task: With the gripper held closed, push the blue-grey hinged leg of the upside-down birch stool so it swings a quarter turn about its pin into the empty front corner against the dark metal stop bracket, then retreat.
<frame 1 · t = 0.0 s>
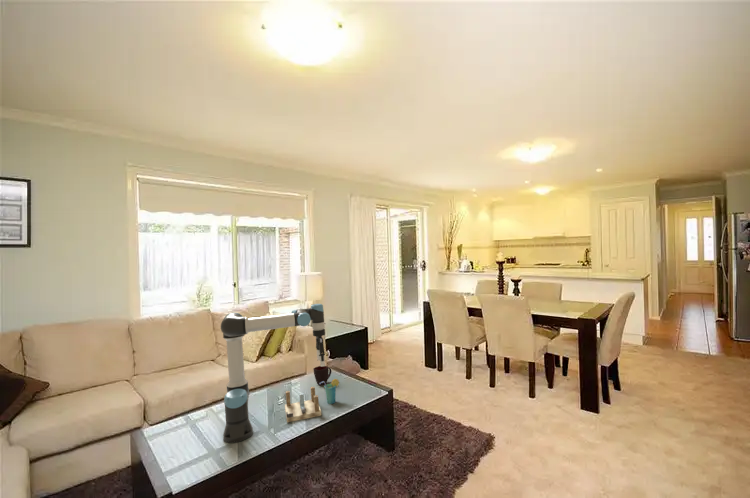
hand: (321, 363, 223), 28 cm above the table, fingers open, 13 cm apart
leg: (302, 403, 216), point 7 cm above the table, hinge at 0.0°
cup: (330, 403, 231), on the table
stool: (302, 412, 220), on the table
mug: (324, 383, 267), on the table
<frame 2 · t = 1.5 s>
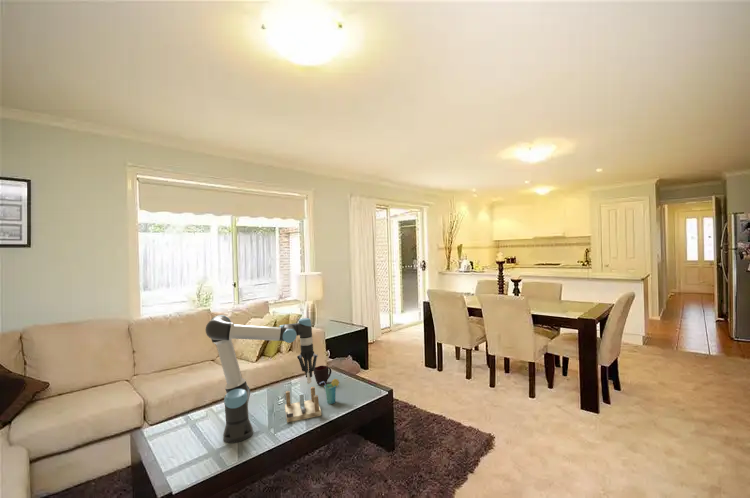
hand: (309, 382, 220), 18 cm above the table, fingers closed
nothing on the table moved.
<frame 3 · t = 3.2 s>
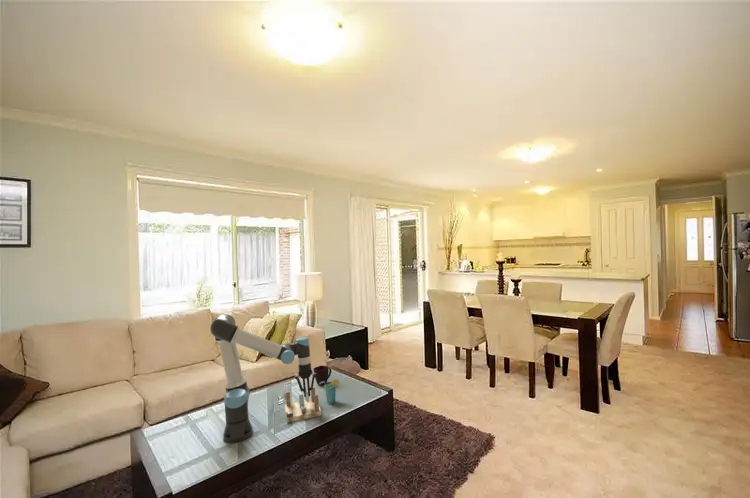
hand: (307, 401, 220), 6 cm above the table, fingers closed
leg: (302, 403, 216), point 7 cm above the table, hinge at 1.8°, touching gripper
everything else where it was.
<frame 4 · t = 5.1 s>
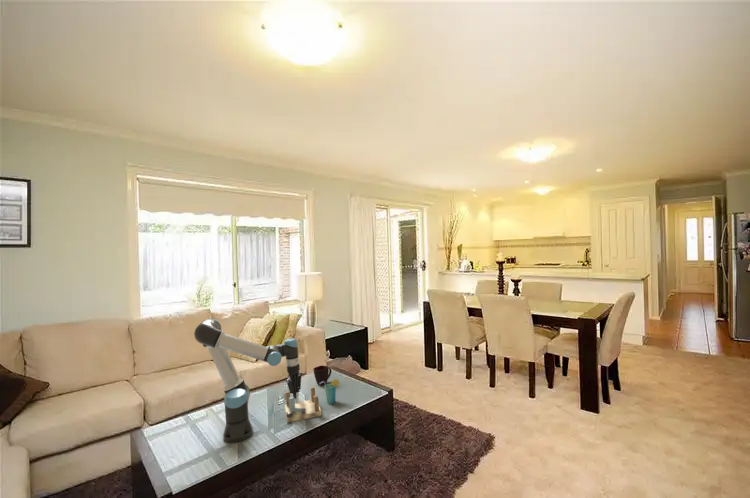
hand: (296, 403, 218), 6 cm above the table, fingers closed
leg: (297, 404, 214), point 7 cm above the table, hinge at 52.8°, touching gripper
everything else where it was.
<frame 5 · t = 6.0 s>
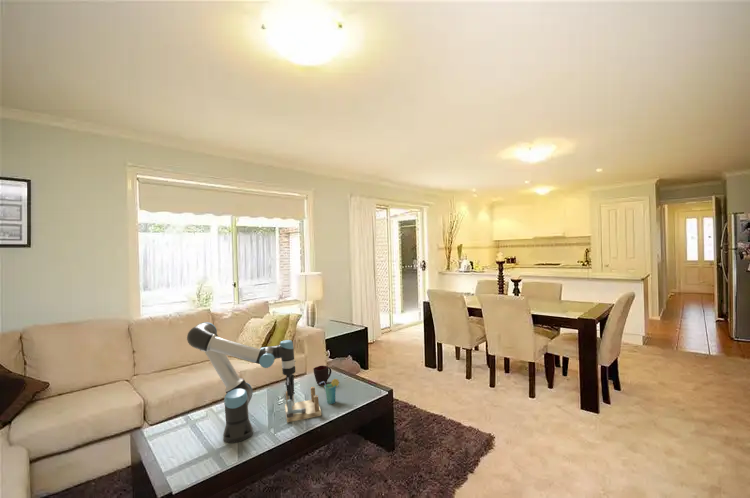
hand: (292, 405, 215), 6 cm above the table, fingers closed
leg: (296, 406, 212), point 7 cm above the table, hinge at 79.5°, touching gripper
everything else where it was.
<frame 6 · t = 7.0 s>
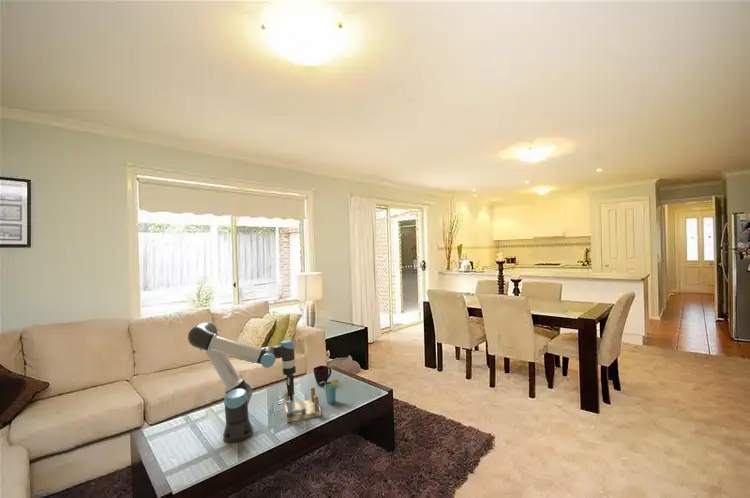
hand: (292, 406, 215), 6 cm above the table, fingers closed
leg: (296, 406, 211), point 7 cm above the table, hinge at 88.4°
everything else where it was.
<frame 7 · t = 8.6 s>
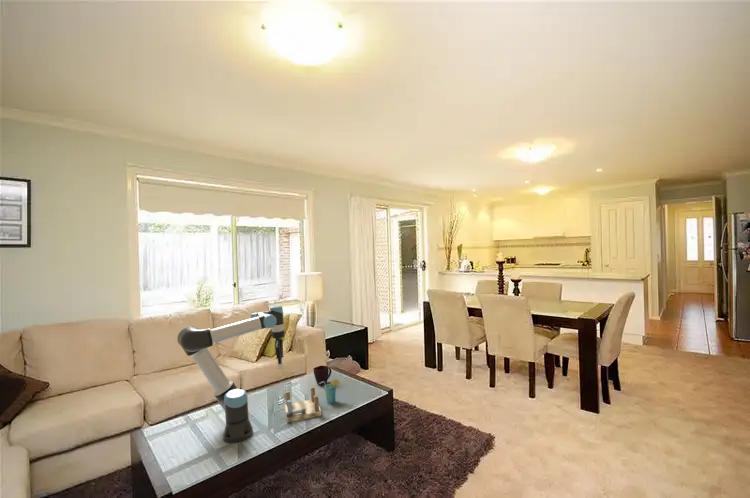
hand: (280, 368, 224), 26 cm above the table, fingers closed
nothing on the table moved.
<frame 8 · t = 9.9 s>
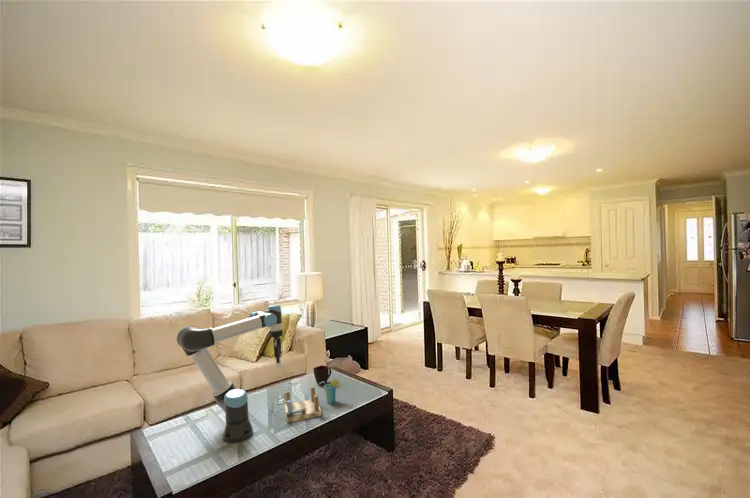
hand: (278, 367, 226), 26 cm above the table, fingers closed
nothing on the table moved.
at the end: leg at +88° (first picture: +0°); the gripper is holding nothing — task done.
